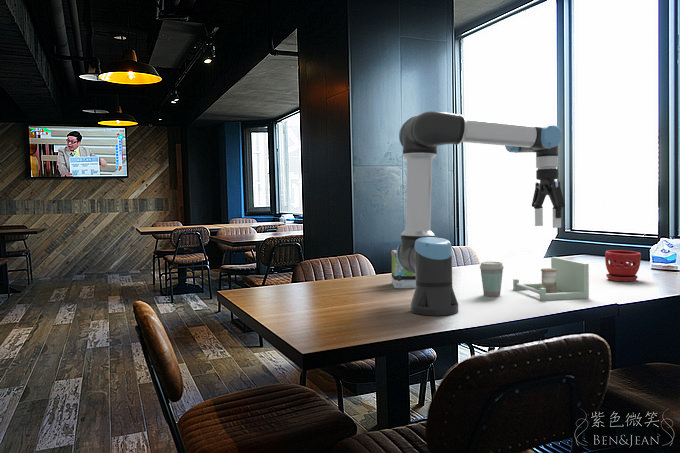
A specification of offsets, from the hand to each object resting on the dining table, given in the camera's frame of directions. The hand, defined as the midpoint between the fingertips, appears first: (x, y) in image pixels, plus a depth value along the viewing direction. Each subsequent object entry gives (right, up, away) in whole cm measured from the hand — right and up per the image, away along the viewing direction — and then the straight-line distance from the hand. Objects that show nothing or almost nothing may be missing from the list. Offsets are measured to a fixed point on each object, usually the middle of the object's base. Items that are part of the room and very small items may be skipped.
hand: (547, 226), depth 196 cm
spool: (+1, -25, +1) cm, 25 cm away
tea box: (-49, -25, +28) cm, 62 cm away
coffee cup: (-20, -25, +1) cm, 32 cm away
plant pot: (+42, -22, +26) cm, 54 cm away
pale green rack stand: (+1, -25, +1) cm, 25 cm away
